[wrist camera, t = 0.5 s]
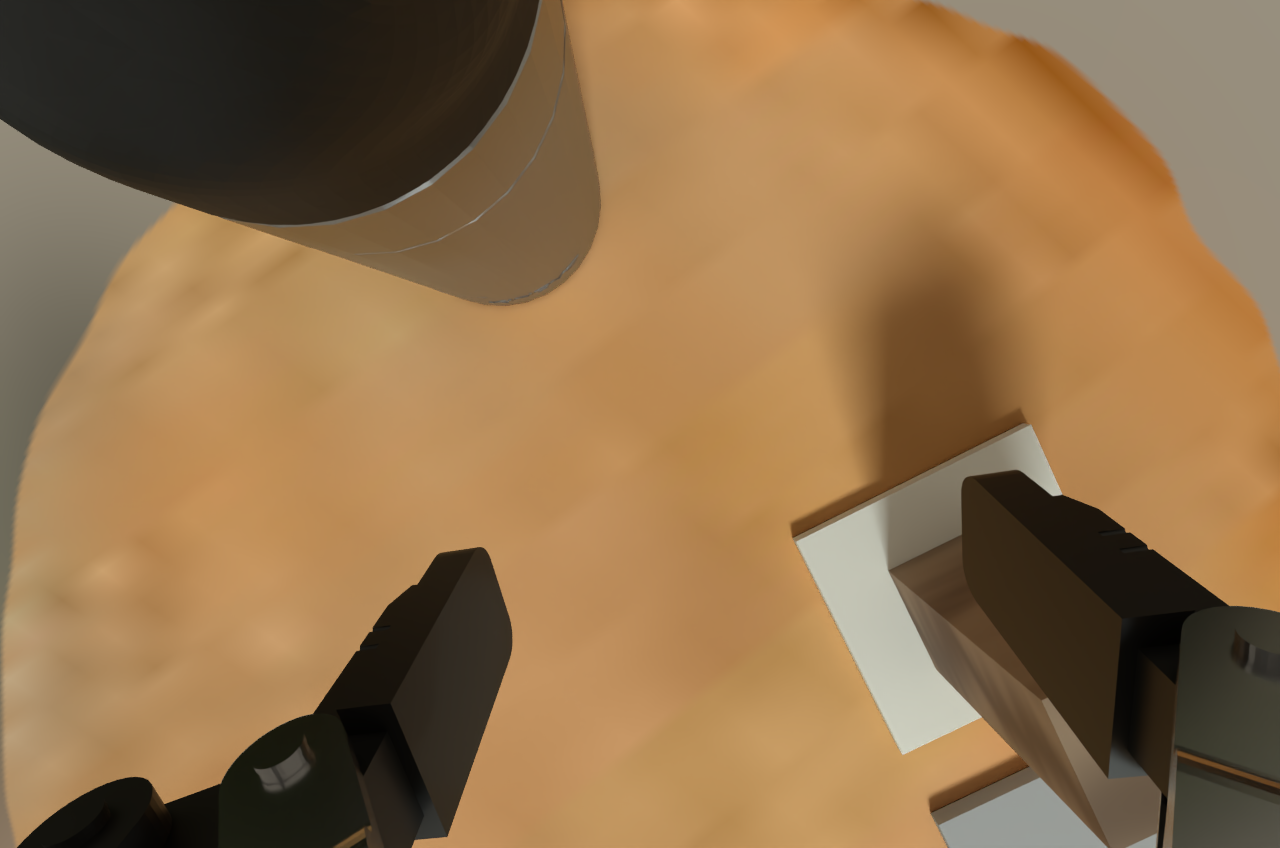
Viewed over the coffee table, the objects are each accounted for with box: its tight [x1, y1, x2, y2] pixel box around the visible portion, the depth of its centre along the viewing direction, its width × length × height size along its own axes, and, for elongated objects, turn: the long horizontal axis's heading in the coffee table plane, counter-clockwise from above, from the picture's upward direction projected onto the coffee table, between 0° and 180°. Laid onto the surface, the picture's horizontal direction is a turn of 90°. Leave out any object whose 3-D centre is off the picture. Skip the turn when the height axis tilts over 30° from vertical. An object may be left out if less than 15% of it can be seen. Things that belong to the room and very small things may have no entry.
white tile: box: [793, 423, 1062, 755], centre depth 29 cm, size 12×12×1 cm
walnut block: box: [888, 535, 1161, 848], centre depth 24 cm, size 6×6×11 cm
